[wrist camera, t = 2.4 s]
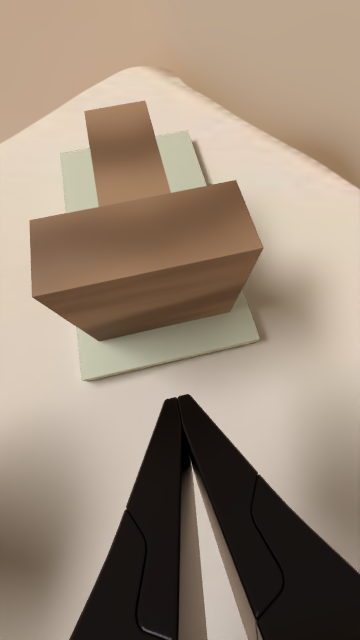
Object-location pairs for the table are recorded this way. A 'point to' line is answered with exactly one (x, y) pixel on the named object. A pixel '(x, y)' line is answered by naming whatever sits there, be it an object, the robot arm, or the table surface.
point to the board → (163, 341)
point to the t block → (141, 239)
